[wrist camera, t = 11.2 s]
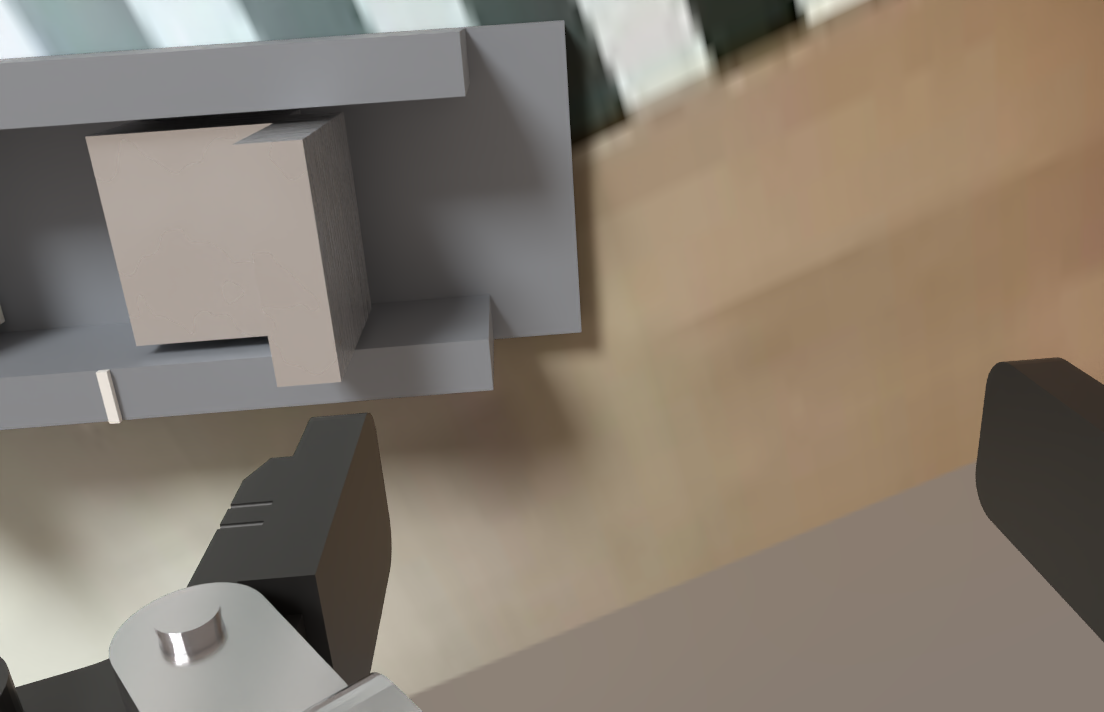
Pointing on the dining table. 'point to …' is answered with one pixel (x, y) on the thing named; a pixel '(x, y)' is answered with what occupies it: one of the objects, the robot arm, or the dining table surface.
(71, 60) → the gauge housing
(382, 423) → the dining table surface
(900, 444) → the dining table surface
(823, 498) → the dining table surface
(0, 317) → the drag pointer
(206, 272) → the notched taupe block
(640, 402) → the dining table surface
